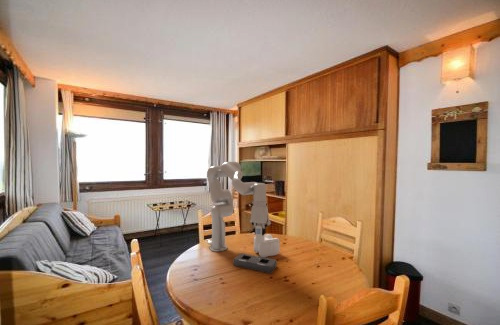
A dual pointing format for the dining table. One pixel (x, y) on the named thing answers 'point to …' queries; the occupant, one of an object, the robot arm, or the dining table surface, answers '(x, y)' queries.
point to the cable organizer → (267, 246)
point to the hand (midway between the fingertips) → (259, 233)
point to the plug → (259, 234)
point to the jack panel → (255, 263)
